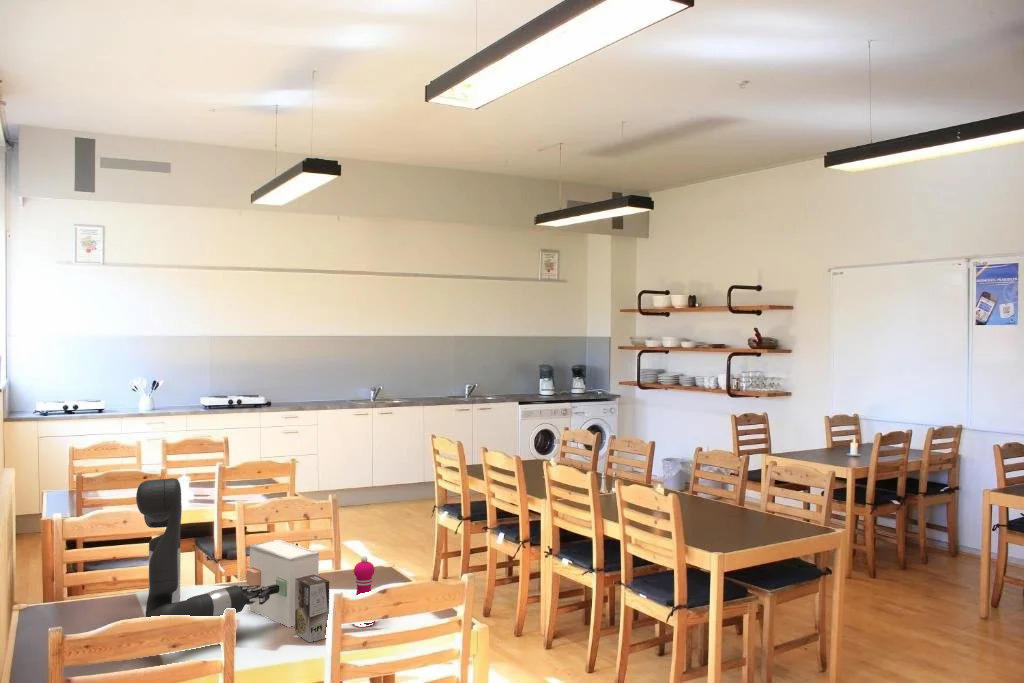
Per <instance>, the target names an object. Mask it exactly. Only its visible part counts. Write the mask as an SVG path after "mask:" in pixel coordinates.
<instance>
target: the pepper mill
mask: <svg viewBox="0 0 1024 683" xmlns="http://www.w3.org/2000/svg"><path fill="white" fill-rule="evenodd" d="M360 559H361V560H360V562H358V563H356V564H355V565H354V569H353V575H354V576H355V577H356V578H355V585H356V592H355V593H356V594H355V596H356V595H358V594H360V593H365V592H369V591H371V592H372V584H373V582H374V581H373V575H374V574H375V567H374V564H373V563H372V562H370V561H368V557H366V556H362V557H361V558H360ZM372 623H374V624H375V621H374V622H372ZM372 623H364V624H366V625H369V624H372ZM360 625H361V624H360Z"/></svg>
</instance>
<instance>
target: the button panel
mask: <svg viewBox="0 0 1024 683" xmlns="http://www.w3.org/2000/svg"><path fill="white" fill-rule="evenodd" d="M319 559H320V558H319V552H318V551H315V550H311V549H308V548H306V547H302V546H299V545H296V544H294V543H291V542H287V541H284V540H281V539H274V540H269V541H264V542H260V543H255V544H250V545H249V569H253V568H255V569H258V570H260V571H261V586H265V587H266V586H270V585H274V584H276V578H281V579H284V580H286V581H287V594H286V596H285V597H284V596H281V595H279V594H276V593H275V594H271V595H270V598H269V599H268V600H267V601H266V602H265V603H264V604H262V605H260V604H259V602H254V603H253V604H250V605H248V607H249V609H250V610H249V609H248V610H249V611H251V610H252V611H251V612H253V611H254V612H253V613H255V612H256V614H258V613H259V614H258V615H260V614H261V615H260V616H262V615H263V616H262V617H264V616H266V617H268V618H267V619H269V618H270V619H269V620H271V619H272V620H271V621H273V620H274V621H273V622H275V621H276V622H275V623H278V622H279V623H278V624H280V623H281V624H280V625H282V624H284V625H285V627H286V626H287V627H286V628H289V627H290V628H292V627H291V626H293V627H295V579H296V578H301V577H305V576H309V575H314V574H315V575H317V576H319ZM248 586H250V585H248ZM261 586H260V587H261ZM266 617H265V618H266ZM284 625H283V626H284Z"/></svg>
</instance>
